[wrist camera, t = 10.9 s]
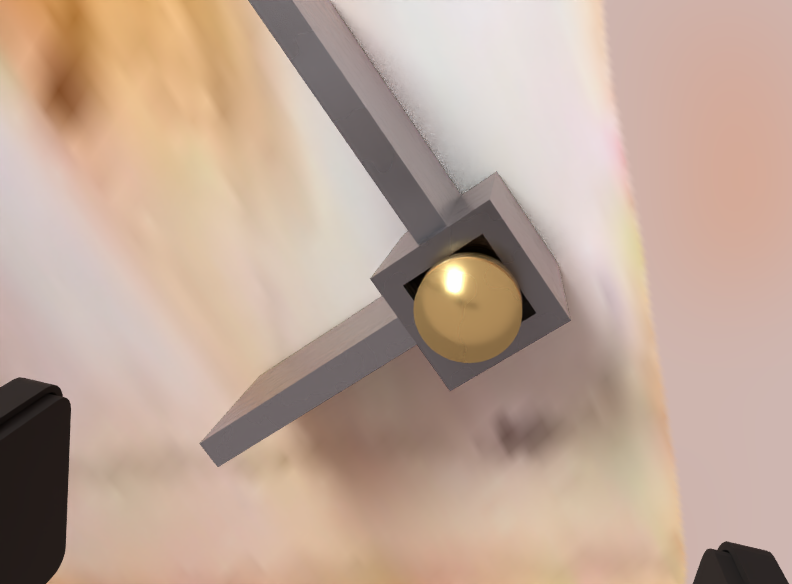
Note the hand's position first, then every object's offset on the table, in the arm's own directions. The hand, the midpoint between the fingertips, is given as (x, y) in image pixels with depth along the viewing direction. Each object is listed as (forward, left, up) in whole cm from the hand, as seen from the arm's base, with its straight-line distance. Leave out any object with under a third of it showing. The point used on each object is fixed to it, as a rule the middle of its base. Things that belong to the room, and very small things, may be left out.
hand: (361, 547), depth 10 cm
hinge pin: (0, -1, -23) cm, 23 cm away
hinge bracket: (-5, +4, -23) cm, 23 cm away
